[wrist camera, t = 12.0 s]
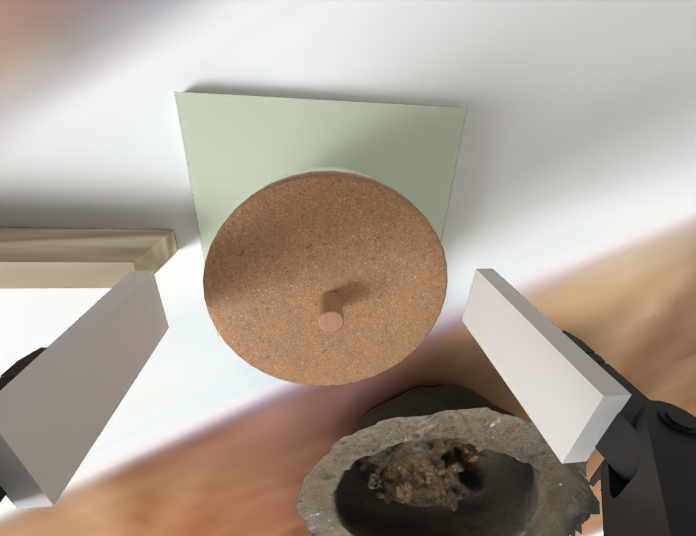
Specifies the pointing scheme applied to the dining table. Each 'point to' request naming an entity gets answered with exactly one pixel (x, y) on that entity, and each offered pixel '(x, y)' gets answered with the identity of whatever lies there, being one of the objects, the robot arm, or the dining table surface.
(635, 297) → the dining table surface
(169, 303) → the dining table surface
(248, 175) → the pad
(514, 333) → the robot arm
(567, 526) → the stone bowl
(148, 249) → the cubby
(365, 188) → the lidded jar
